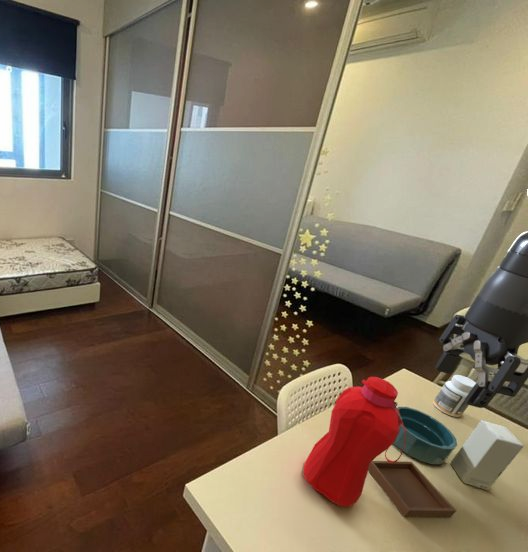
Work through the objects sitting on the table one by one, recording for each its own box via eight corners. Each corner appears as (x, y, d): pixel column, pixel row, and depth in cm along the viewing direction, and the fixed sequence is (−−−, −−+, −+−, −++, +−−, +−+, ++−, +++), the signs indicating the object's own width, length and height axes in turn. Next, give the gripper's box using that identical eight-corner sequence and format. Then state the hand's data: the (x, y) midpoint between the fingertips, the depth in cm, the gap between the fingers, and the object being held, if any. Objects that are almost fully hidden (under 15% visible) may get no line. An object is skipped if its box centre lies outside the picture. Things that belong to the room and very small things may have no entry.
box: (488, 491, 64) (527, 448, 59) (462, 483, 66) (498, 439, 60) (472, 468, 69) (507, 426, 64) (447, 461, 70) (480, 418, 65)
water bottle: (361, 526, 56) (432, 424, 45) (296, 479, 62) (345, 381, 52) (370, 490, 62) (434, 393, 52) (310, 451, 69) (357, 358, 58)
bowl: (427, 432, 77) (439, 415, 75) (455, 474, 67) (469, 456, 65) (375, 417, 80) (385, 400, 78) (394, 455, 70) (406, 437, 68)
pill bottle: (451, 404, 87) (471, 376, 83) (465, 420, 82) (487, 391, 78) (427, 398, 89) (446, 370, 85) (440, 414, 83) (460, 385, 79)
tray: (406, 468, 67) (411, 461, 67) (450, 517, 59) (456, 510, 58) (365, 467, 66) (369, 460, 66) (403, 517, 58) (409, 510, 57)
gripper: (594, 334, 40) (516, 427, 46) (509, 289, 52) (457, 367, 59) (520, 319, 42) (454, 410, 48) (455, 279, 54) (410, 356, 61)
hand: (456, 386), depth 54 cm, fingers open, 8 cm apart
